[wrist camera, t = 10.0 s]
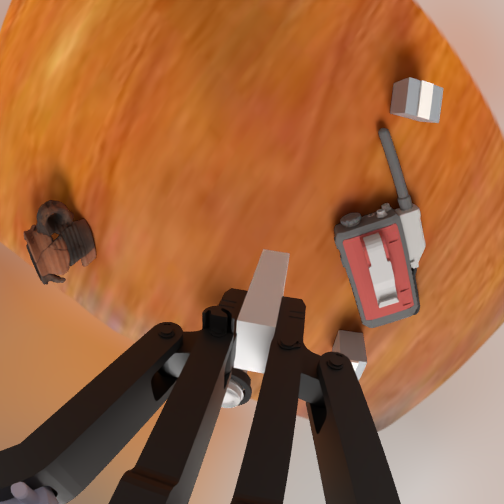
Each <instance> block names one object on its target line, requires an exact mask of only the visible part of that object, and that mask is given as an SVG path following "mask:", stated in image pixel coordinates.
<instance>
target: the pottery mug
mask: <svg viewBox="0 0 504 504" xmlns="http://www.w3.org/2000/svg"><path fill="white" fill-rule="evenodd" d="M53 213H54V214H53ZM51 214H52V215H51ZM73 217H74V215H73V213H72V212H71V211H68V209H67V207H66V205H64V204H63V203H62V202H60V201H52V200H49V201H48V202H45V203H44V204H42V205H41V207H40V208H39V210H38V213H37V225H32V227H31V229H30V230H28V231H24V239H25V240H26V241H27V245H26V246H27V249H28V252H29V254H30V257H31V260H32V262H33V265H34V267H35V269H36V271H37V274H38V276H39V278H40V280H41V281H42V282H43V284H48V282H49V281H53V282H56V283H60V282H61V283H63V282H64V281H65V280H66V279H65V278H60V276H57V275H64V274H65V273H67V272H68V270H69V266H72V265H73V264H75V263H76V262H77V261H79V259H81V261H82V265H83V266H84V267H85V266H87V265H88V264H89V263H91V262H92V261H93V260H94V259H95V258H96V250H95V245H94V242H93V237H92V234H91V231H90V228H89V226H88V224H87V222H86V221H85V219H82V220H80V221H73ZM54 232H55V233H57V234H59V236H58V237H57V238H56V239H55V240H53V238H52V237H51V235H52V234H53V233H54ZM55 274H57V275H55Z"/></svg>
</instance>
